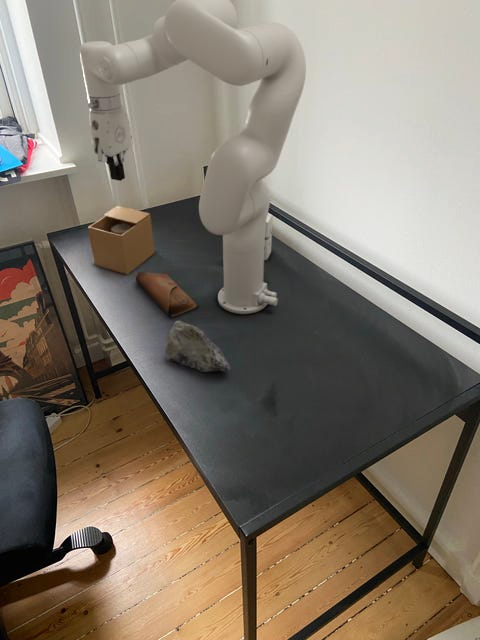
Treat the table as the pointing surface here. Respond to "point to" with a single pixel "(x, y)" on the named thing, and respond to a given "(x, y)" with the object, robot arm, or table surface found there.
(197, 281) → the table surface
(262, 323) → the table surface
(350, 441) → the table surface
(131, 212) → the flap
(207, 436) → the table surface
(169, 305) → the sunglasses case
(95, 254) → the carton
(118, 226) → the tea tin
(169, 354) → the mineral rock
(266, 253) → the ink box
